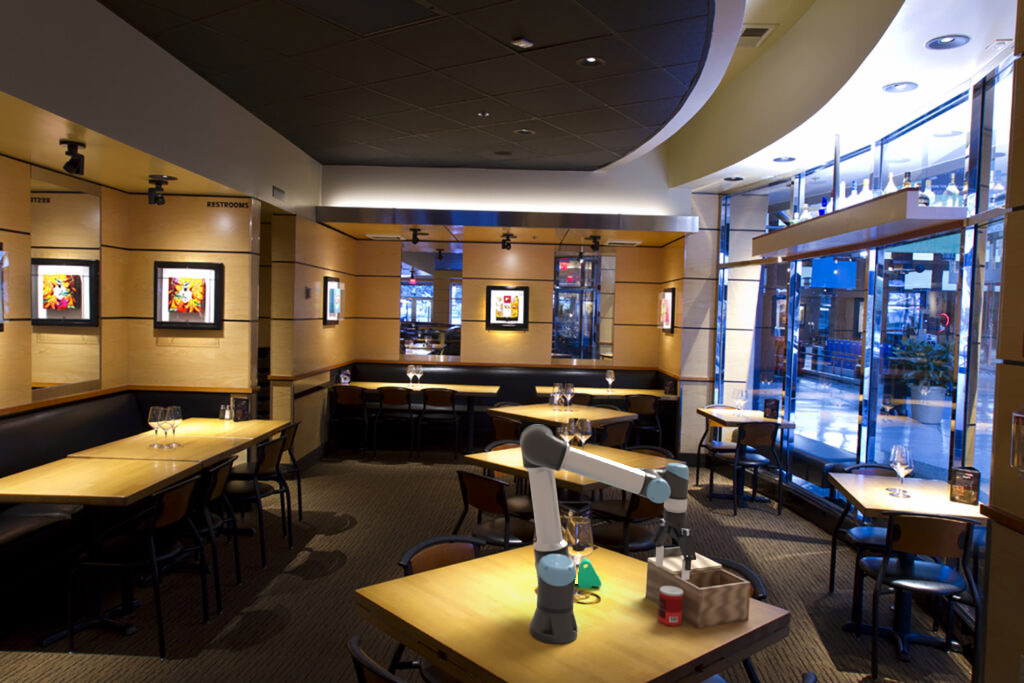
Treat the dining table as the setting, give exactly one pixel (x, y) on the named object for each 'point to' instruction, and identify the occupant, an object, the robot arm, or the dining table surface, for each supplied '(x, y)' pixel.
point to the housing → (704, 595)
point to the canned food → (670, 606)
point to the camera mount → (587, 575)
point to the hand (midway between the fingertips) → (671, 572)
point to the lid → (674, 561)
